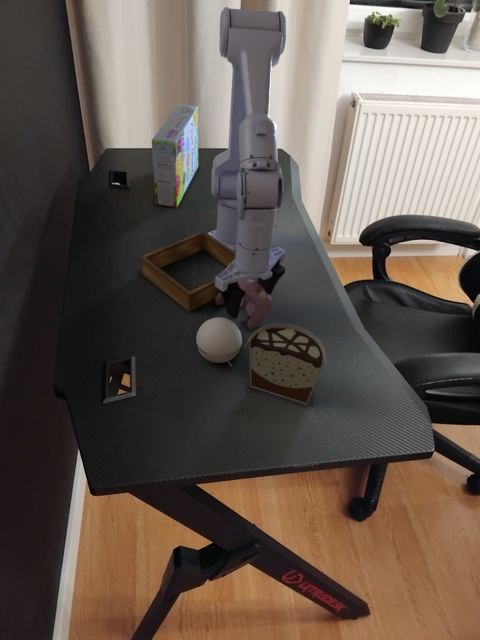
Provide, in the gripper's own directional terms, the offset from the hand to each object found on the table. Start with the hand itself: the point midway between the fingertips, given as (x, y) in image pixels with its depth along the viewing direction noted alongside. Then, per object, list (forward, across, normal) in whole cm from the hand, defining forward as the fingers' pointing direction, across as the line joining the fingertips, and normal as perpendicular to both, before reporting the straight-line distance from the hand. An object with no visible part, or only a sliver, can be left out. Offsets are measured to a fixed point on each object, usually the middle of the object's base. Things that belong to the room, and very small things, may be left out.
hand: (247, 306), depth 100 cm
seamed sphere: (+2, -12, -6) cm, 14 cm away
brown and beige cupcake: (+2, -7, -16) cm, 18 cm away
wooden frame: (+2, 0, +14) cm, 14 cm away
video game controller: (+2, 0, +1) cm, 2 cm away
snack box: (+2, +20, +45) cm, 49 cm away
